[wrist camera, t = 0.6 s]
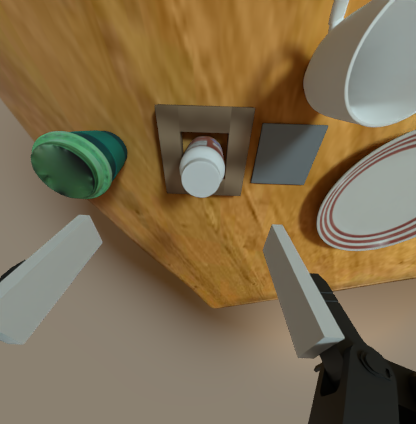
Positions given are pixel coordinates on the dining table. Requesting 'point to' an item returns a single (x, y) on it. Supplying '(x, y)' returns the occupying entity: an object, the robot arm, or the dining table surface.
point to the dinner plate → (373, 200)
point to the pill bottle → (202, 167)
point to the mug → (366, 64)
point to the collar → (211, 123)
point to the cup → (78, 161)
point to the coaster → (286, 152)
